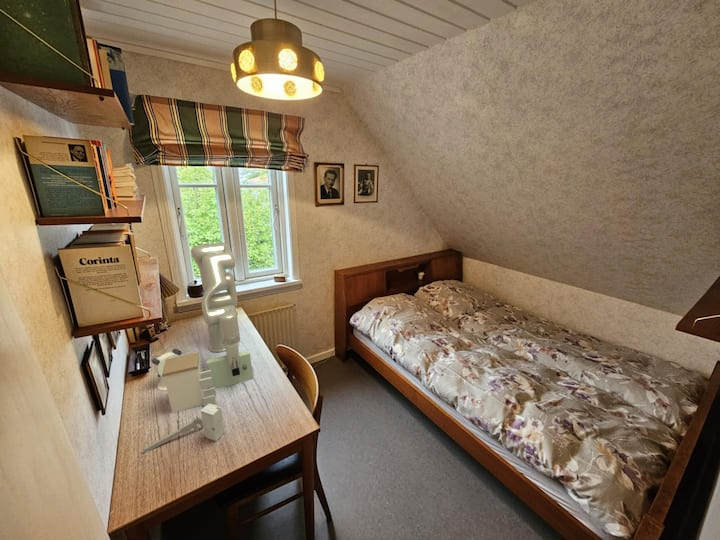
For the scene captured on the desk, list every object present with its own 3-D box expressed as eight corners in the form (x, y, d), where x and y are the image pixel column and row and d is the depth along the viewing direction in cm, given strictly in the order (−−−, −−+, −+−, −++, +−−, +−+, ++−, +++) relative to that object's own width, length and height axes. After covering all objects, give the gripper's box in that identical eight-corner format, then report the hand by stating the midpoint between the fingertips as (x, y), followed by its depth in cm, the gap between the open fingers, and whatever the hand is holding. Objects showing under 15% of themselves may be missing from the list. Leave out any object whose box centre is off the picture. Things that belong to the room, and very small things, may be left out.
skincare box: (204, 436, 117) (198, 410, 113) (213, 428, 121) (208, 402, 117) (216, 441, 115) (211, 415, 111) (225, 432, 119) (221, 406, 115)
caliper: (203, 427, 122) (201, 414, 120) (204, 429, 121) (201, 416, 119) (140, 452, 111) (137, 438, 109) (140, 454, 110) (137, 441, 108)
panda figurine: (178, 371, 155) (172, 345, 150) (191, 379, 149) (186, 351, 145) (152, 385, 145) (145, 357, 140) (166, 393, 139) (159, 365, 135)
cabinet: (173, 396, 138) (165, 359, 132) (215, 386, 144) (209, 350, 138) (170, 416, 127) (161, 376, 121) (215, 403, 133) (209, 365, 128)
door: (211, 385, 145) (207, 359, 140) (252, 375, 152) (249, 350, 148) (211, 391, 141) (207, 364, 137) (253, 380, 148) (250, 355, 144)
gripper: (221, 332, 146) (226, 365, 152) (222, 349, 132) (228, 385, 138) (238, 328, 149) (242, 361, 155) (241, 345, 135) (246, 380, 141)
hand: (236, 372), depth 146 cm, fingers closed on door, 3 cm apart
